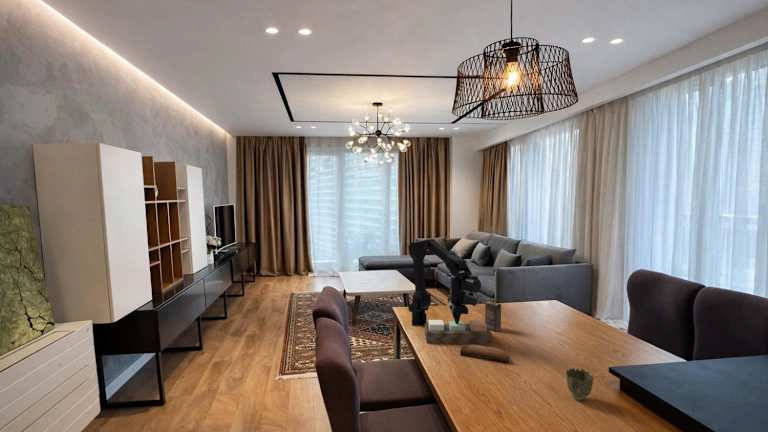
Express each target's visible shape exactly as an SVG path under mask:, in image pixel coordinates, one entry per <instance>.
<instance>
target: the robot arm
mask: <svg viewBox="0 0 768 432" xmlns="http://www.w3.org/2000/svg"><path fill="white" fill-rule="evenodd" d="M407 249H408V253H409V256H410V257H411V258H410V259H412V263H413V275H414V276H413V277H414V288H415V290H414V293H413V295H412V302H411V303H410V304H409V305H408V307H407V308H408V312H410V313H411V325H412V326H425V323H427V313H426V311H429V308H430V306H431V304H432V303H431V302H432V297H431V296H432V294H431V293H428V291H427V288H426V287H427V286H426V276H425V275H426V274H425V262H424V260H425V257H426V255H427V250H429V251H430V252H431V253H433V254H434V255H435V256H437V257H438V258H439V260H441V261H442V262H443V263H444V266H445V267H446V268H447V269H448V271H449V272H448V273H447V274H446V276H447V277H448V278H449V277H450V288H449V292H450V294H449V295H448V296H447V298H446V301H447V303H450V305H449V309H450V313H451V314H452V317H453V319H454V320H453V321H455V323H456V324H458V323H459V321H460V320H461V316H462V315H468V314H469V308H468V307H467V305H466V304H469V305H471V306H472V307H476V305H477V304H478V301H479V299H478V298H477V296H476V295H474V294H478V293H479V292H480V291H481V288H482V283H481V280H480V279H479V276H478V275H472V271H471V270H470V268H469V266H468V264H467V260H466V259H464V258H462V257H460V256H459V255H455V254H453V253H451V252H450V251H448V250H447V249H446V248H444V247H443V246H442V245H440V244H439V243H438V242H437V241H436V239H434V238H427V239H424V240H419V241H412V242H410V243H409V245H408V247H407ZM466 291H467V292H466Z"/></svg>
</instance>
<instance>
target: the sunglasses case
mask: <svg viewBox="0 0 768 432" xmlns="http://www.w3.org/2000/svg"><path fill="white" fill-rule="evenodd" d="M460 356H469V357H471V356H472V357H478V358H483V359H488V360H489V359H490V360H494V361H500V362H505V363H507V364H509V362H510V355H509V354H508V353H507V352H506V351H504V350H502V349H500V348H497V347H489V346H487V345H484V346H483V345H480V344H468V345H467V344H466V345H462V346H461V348H460Z"/></svg>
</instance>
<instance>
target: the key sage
mask: <svg viewBox="0 0 768 432" xmlns="http://www.w3.org/2000/svg"><path fill="white" fill-rule="evenodd" d="M448 324H449V329H450V331H465V325H464V324H465V323H464V321H463V320H462V321H460V320H459V323H458V324H456V323H455V320H452V321H451V320H449V321H448Z"/></svg>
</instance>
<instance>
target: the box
mask: <svg viewBox="0 0 768 432" xmlns="http://www.w3.org/2000/svg"><path fill="white" fill-rule="evenodd" d="M484 304H485V305H484V306H485V310H484V313H485V314H484V322H485V323H486V325H487V327H488V329H489V330H491V331H493V332H499V331H501V328H502V326H501V324H502V304H501V303H498V302H494V301H487V302H485V303H484Z"/></svg>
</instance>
